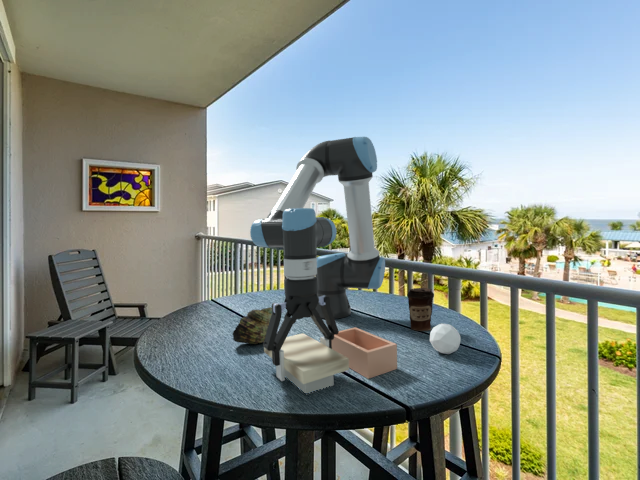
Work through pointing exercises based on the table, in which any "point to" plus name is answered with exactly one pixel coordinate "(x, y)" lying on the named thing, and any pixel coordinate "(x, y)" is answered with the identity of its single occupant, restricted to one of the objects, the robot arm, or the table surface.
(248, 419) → the table surface
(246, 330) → the seashell
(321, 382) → the rubber block
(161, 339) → the table surface
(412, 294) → the coffee cup
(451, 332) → the geometric ball
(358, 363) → the terracotta dish
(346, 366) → the board
